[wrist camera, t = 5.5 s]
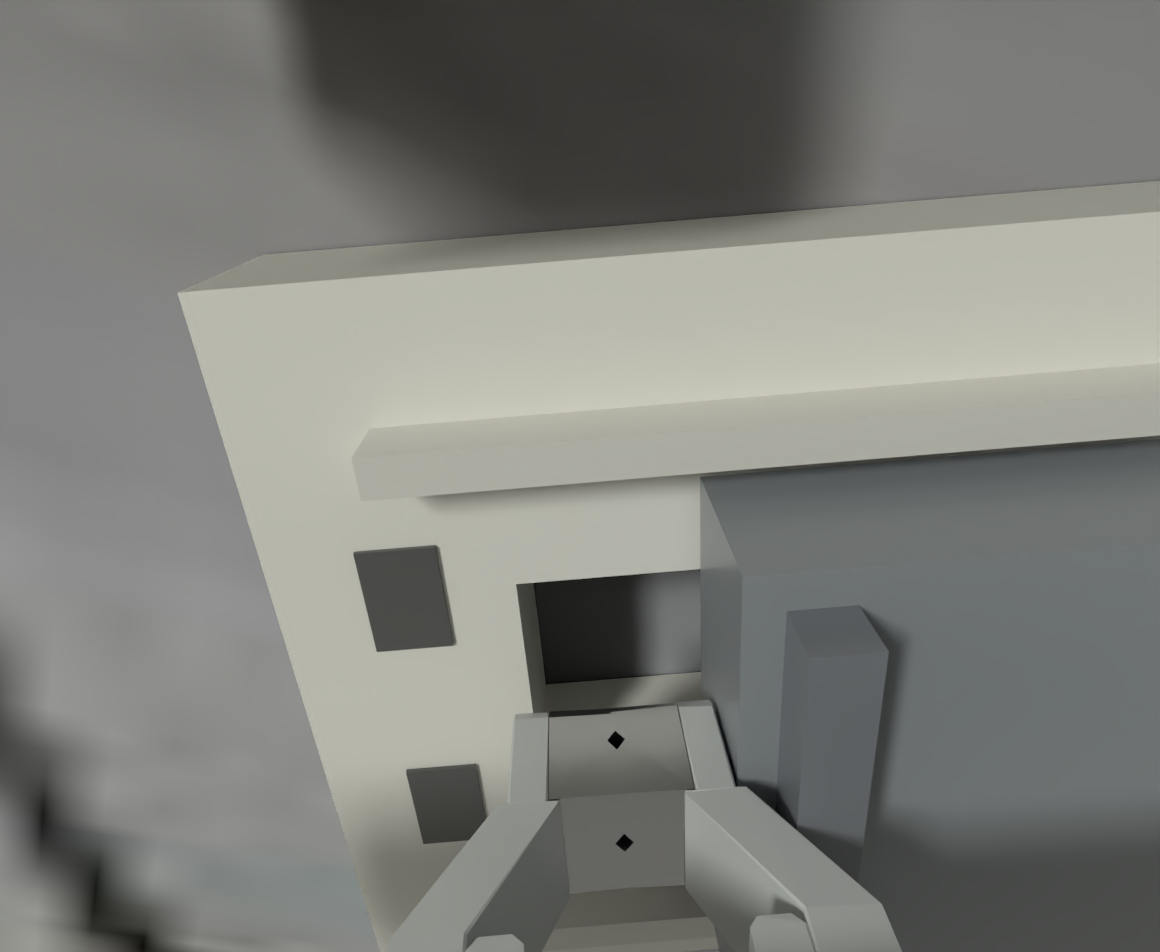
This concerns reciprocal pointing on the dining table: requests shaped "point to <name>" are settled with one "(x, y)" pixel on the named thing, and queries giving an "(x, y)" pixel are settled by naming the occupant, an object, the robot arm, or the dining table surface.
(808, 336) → the socket plate
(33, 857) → the dining table surface
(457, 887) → the robot arm
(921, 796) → the cover
